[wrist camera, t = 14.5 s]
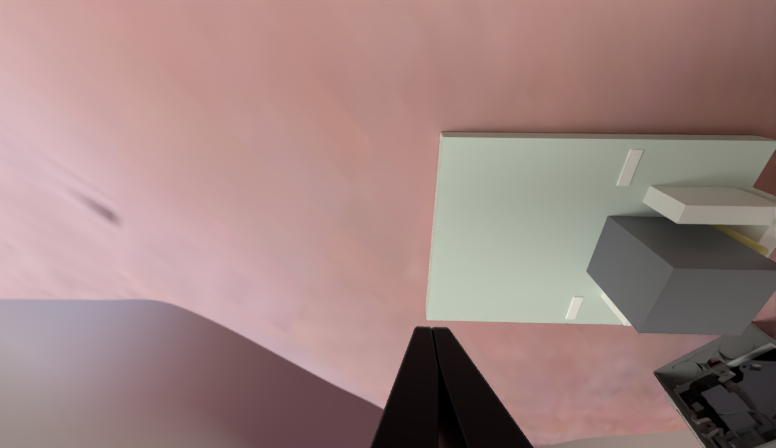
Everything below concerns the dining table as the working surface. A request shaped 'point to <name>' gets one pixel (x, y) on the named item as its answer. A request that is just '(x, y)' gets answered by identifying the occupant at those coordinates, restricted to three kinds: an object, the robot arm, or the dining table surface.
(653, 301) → the plug
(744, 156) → the board
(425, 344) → the robot arm
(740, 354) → the electrical switch
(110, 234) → the dining table surface
